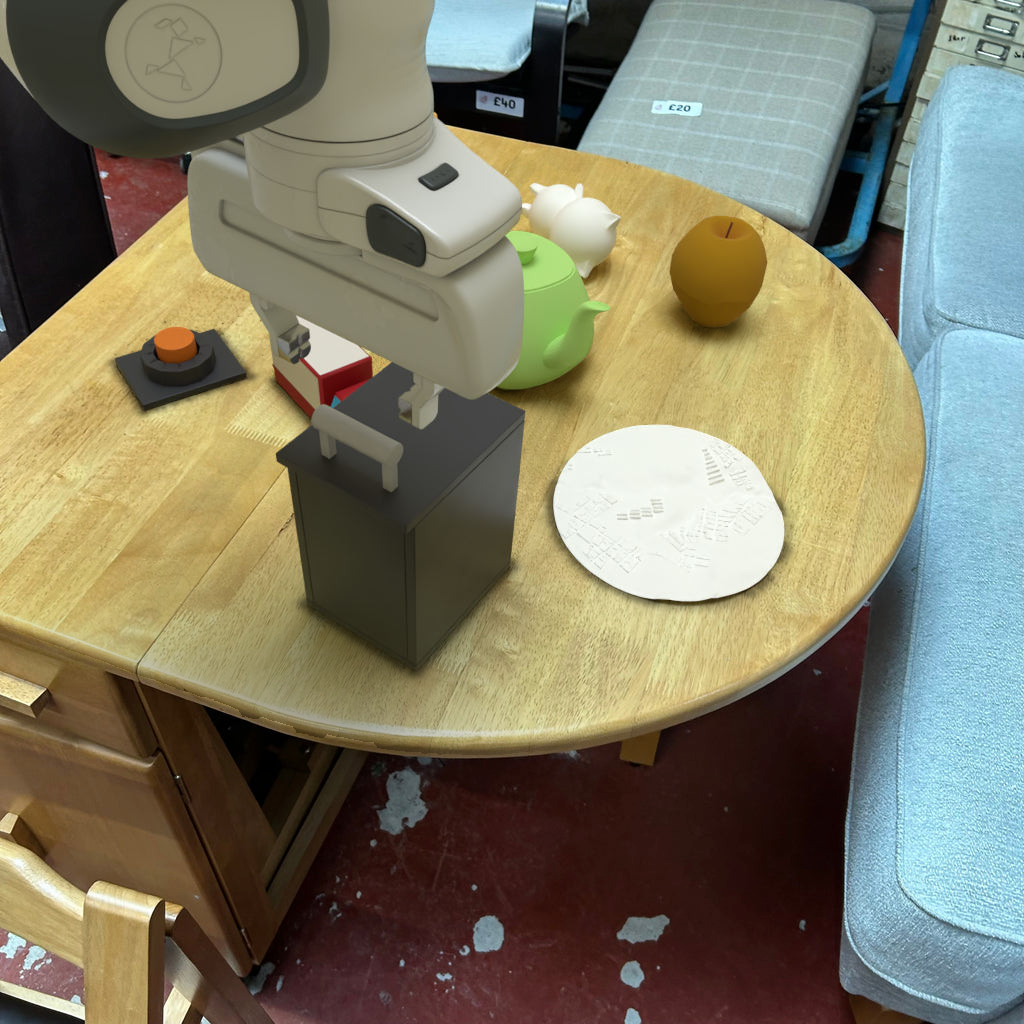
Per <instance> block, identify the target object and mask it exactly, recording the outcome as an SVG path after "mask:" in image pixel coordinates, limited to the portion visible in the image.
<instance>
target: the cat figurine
mask: <svg viewBox="0 0 1024 1024" xmlns="http://www.w3.org/2000/svg"><path fill="white" fill-rule="evenodd" d="M584 190H585V187H584V184H583V183H579V182H577V184H576V185H575V188H573V187H571V186H569V185H567V184H562V183H557V184H552V185H549V186H545V185H542V184H541V183H538V182H533V183H532V184H530V185H529V191H530V192H531V194H532V195H533V196H534V200H533V202H532V203H530V202H529V203H528V202H524V203H522V211H521V216H522V215H523V217H525V218H526V219H527V220H528V225H529V229H530V230H531V233H533V234H537V235H539V236H542V237H544V238H546V239H548V240H550V241H552V242H553V243H555V244H556V245H558V246H559V247H560V248H562V249H563V250H564V251H565V252H566V253H567V254H568V255H569V256H570V258H571V259H572V261H573V262H574V264H575V266H576V268H577V269H578V272H579V274H580V276H581V278H583V279H587V278H588V277H589V276H590V274H591V272H592V271H593V269H594V268H595V267H596V266H598V265H600V264H601V263H602V262H604V261H605V260H606V259H607V258H608V257H609V256H610V254H612V252H613V250H614V248H615V245H616V241H617V237H618V235H617V233H618V231H617V227H618V225H619V224H620V222H621V220H622V217H621V216H620V215H619V214H616V213H613V212H612V210H611V209H610V208H609V207H608V206H607V205H606V203H604V202H603V201H601V200H599V199H597V198H593V197H584Z"/></svg>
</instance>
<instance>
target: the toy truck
mask: <svg viewBox="0 0 1024 1024" xmlns="http://www.w3.org/2000/svg"><path fill="white" fill-rule="evenodd" d="M296 317H297V319H298V321H299V324H301V325H303V326H305V327H307V328H308V329H309V331H310V339H309V342H310V344H311V350H310V353H309V354H308V356H306V357H305V358H302V359H300V360H299V362H298V363H296V364H292V363H290V362H288V361H286V360H284V359H282V358H280V357H278V356H276V355H274V354H273V351H272V343H271V336H270V333H269V332H268V338H269V345H270V352H271V358H272V367H273V372H274V373H273V374H274V379H275V381H276V382H277V383H278V384H279V385H280V386H281V387H282V388H283V389H284V391H285V392H286V393H287V394H288V395H289V396H290V397H291V398H292V399H293V401H295V403H296V404H297V405H298V406H299V407H300V408H301V409H302V410H303V411H304V412H305V413H306V415H307V416H308V417H309V418H310V419H311V418H312V415H313V413H314V411H315V410H316V408H317V407H319V406H320V405H323V404H325V405H327V406H329V407H331V408H334V407H335V406H336V405H338V404H339V403H340V402H341V401H343V400H344V399H345V398H347V397H348V396H349V395H350V394H352V393H353V392H354V391H356V390H357V389H358V388H359V387H361V386H362V385H363V384H364V383H366V382H367V381H368V380H370V379H371V378H372V377H373V376H374V372H373V357H372V356H371V355H370V354H369V353H368V352H367V350H366V349H364V348H362V347H360V346H358V345H356V344H354V343H352V342H350V341H348V340H346V339H344V338H342V337H340V336H338V335H335V334H333V333H331V332H329V331H327V330H325V329H323V328H321V327H319V326H317V325H315V324H313V323H311V322H309V321H307V320H305V319H303V318H301V317H299V316H297V315H296Z"/></svg>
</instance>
